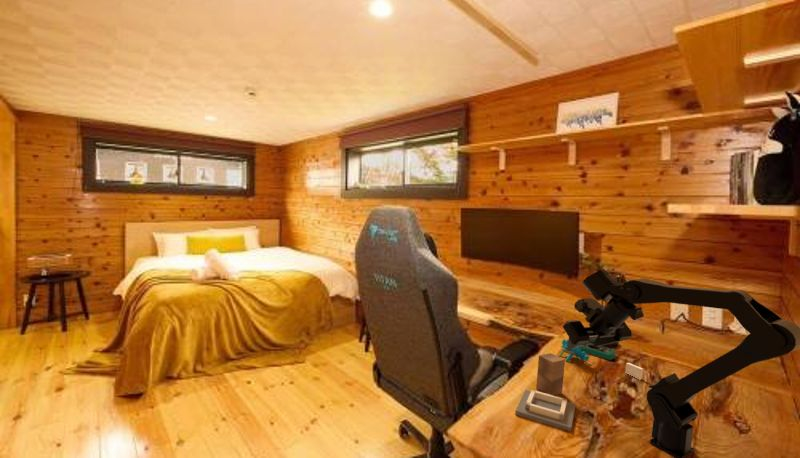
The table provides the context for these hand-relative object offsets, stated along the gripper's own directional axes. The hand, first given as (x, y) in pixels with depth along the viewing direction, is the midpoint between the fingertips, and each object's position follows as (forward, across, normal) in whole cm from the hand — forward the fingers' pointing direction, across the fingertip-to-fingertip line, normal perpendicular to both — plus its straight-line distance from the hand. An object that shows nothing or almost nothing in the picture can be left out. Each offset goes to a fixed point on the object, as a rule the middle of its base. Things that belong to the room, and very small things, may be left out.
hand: (581, 346), depth 108 cm
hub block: (+13, +8, +6) cm, 16 cm away
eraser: (+15, -28, +5) cm, 32 cm away
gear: (+25, -17, -7) cm, 31 cm away
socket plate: (+7, +16, +13) cm, 22 cm away
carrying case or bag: (+34, -41, -17) cm, 56 cm away
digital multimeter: (+28, -30, -11) cm, 43 cm away
